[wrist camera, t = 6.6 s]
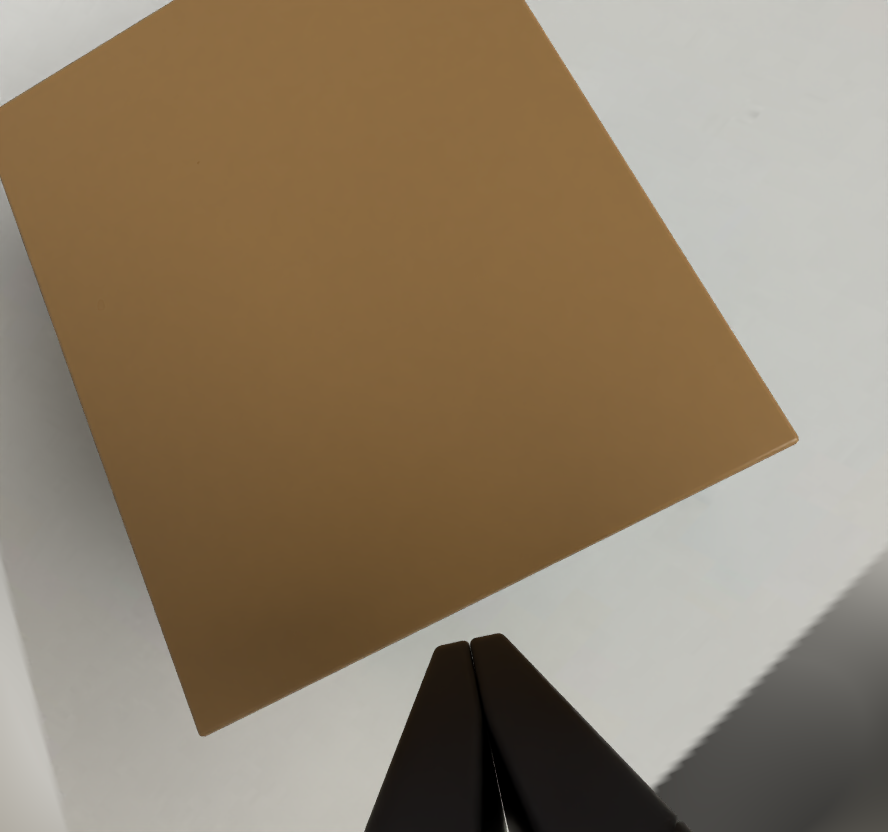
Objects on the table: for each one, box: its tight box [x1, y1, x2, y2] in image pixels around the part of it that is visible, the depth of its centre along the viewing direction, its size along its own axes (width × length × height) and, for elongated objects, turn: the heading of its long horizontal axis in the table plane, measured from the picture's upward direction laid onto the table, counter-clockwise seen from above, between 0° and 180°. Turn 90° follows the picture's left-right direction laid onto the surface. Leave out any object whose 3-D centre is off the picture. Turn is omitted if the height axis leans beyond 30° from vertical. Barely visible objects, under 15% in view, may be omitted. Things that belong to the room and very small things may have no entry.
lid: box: [0, 0, 799, 736], centre depth 15 cm, size 14×12×1 cm
